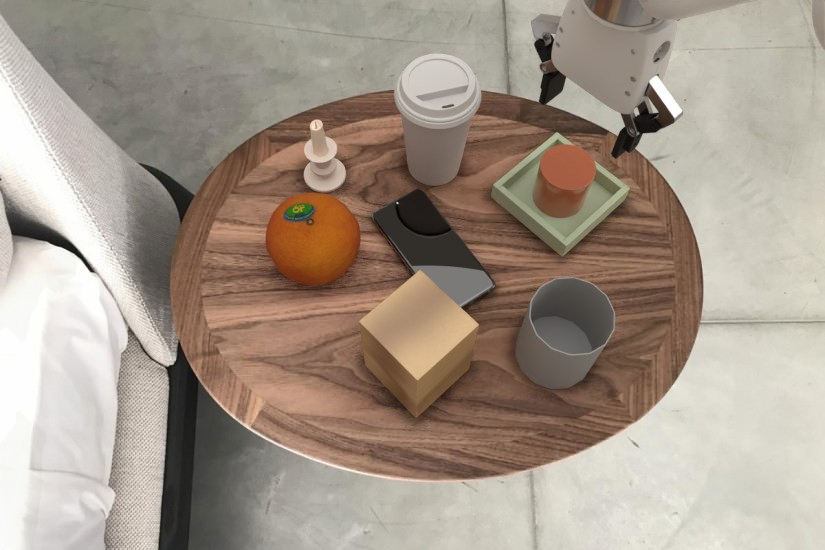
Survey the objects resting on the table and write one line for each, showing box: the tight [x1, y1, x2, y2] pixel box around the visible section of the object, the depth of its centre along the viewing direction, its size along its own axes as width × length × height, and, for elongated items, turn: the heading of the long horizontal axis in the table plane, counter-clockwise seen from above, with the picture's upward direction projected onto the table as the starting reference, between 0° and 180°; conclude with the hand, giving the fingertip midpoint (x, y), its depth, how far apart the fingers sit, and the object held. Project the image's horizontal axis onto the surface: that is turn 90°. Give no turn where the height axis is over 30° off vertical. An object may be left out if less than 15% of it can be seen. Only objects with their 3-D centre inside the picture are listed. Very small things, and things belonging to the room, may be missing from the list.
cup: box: [514, 276, 616, 390], centre depth 74 cm, size 8×8×10 cm
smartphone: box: [371, 188, 497, 310], centre depth 84 cm, size 7×1×16 cm
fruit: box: [265, 192, 362, 287], centre depth 81 cm, size 11×10×8 cm
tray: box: [490, 131, 631, 258], centre depth 87 cm, size 12×12×3 cm
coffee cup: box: [393, 53, 482, 187], centre depth 83 cm, size 10×10×15 cm
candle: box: [303, 119, 347, 194], centre depth 85 cm, size 5×5×10 cm
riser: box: [358, 270, 480, 419], centre depth 73 cm, size 8×8×12 cm
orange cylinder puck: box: [532, 144, 596, 218], centre depth 85 cm, size 6×6×6 cm
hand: (585, 122), depth 75 cm, fingers open, 9 cm apart
